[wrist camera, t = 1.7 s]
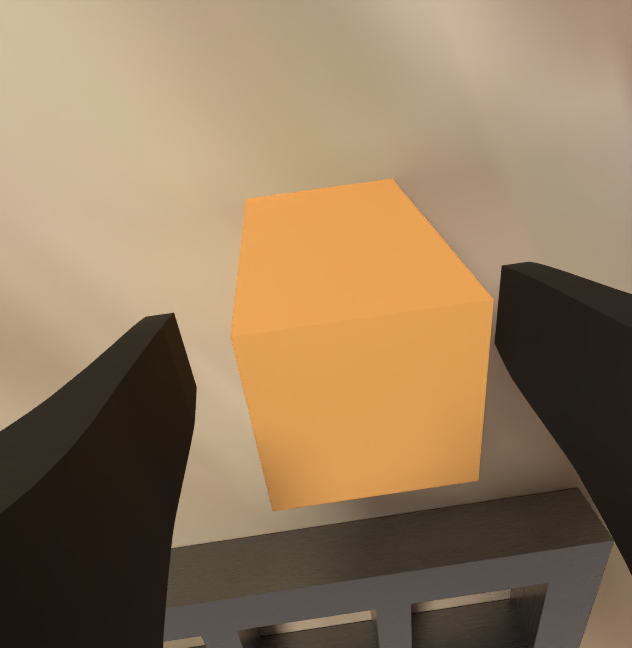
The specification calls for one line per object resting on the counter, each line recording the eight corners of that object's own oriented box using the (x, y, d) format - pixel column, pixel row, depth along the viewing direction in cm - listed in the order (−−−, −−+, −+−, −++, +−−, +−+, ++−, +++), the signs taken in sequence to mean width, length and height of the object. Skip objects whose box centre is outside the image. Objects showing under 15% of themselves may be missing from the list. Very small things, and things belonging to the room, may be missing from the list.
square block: (392, 178, 13) (493, 299, 7) (396, 306, 16) (478, 480, 10) (246, 199, 13) (230, 337, 7) (269, 324, 15) (272, 511, 9)
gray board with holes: (578, 487, 21) (613, 540, 19) (546, 615, 26) (572, 668, 24) (7, 573, 20) (-23, 637, 18) (91, 686, 26) (75, 746, 23)
